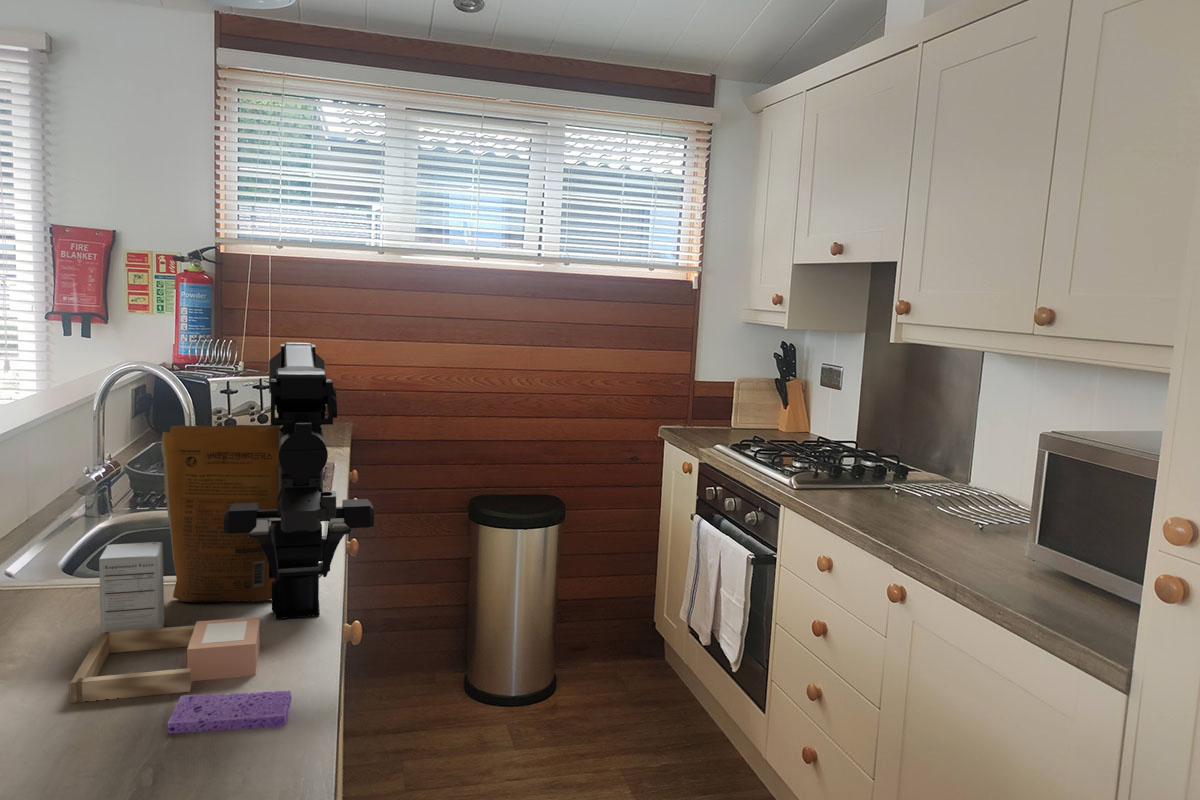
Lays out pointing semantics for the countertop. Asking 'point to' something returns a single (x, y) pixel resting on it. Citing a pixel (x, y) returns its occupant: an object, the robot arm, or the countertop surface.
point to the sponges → (230, 711)
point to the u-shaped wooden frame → (132, 684)
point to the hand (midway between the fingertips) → (300, 577)
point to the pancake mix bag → (218, 508)
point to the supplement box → (131, 587)
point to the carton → (224, 648)
